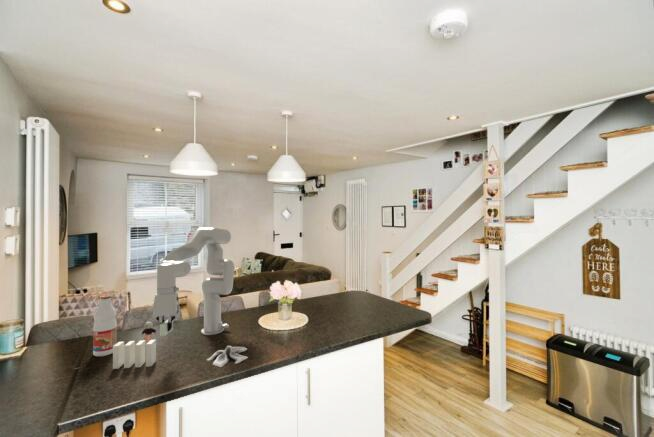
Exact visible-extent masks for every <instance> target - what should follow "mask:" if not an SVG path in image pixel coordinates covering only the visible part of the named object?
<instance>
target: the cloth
mask: <svg viewBox="0 0 654 437" xmlns="http://www.w3.org/2000/svg"><path fill="white" fill-rule="evenodd" d="M247 350H248V348H246V347H245V346H232V345H227V346H226V347H225V349H220V350H217V351H216V352H214V353H213V354H212V355H211V356H210V357H209V358H206V361H212V360H214V359H215V360H214V361H213V363H212V365H214V367H215V366H216V367H218V368H222V367H224V366H225V365H226V364H228V362H229V361H230V359H231V360H234V361H235V362H234V364H240V363H241V362H242V361H244V360H247V359H248V358H249V357H248V356H246V355H241V353H244V352H245V351H247Z"/></svg>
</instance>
